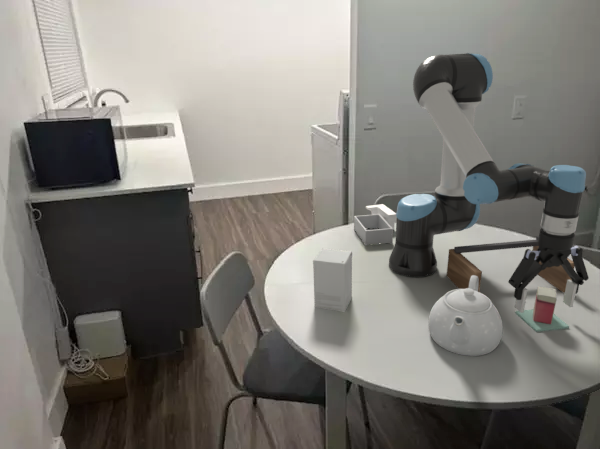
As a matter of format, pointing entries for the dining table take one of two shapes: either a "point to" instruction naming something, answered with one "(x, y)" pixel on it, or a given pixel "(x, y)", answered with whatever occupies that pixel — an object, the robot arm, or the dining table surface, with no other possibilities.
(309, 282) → the dining table surface
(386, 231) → the box
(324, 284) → the supplement box
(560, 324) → the pad
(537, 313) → the small box
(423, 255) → the robot arm
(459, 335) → the teapot
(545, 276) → the rack
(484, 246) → the tie bar
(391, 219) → the bracket
